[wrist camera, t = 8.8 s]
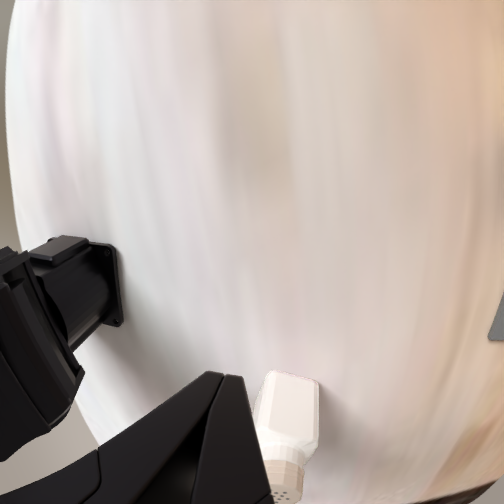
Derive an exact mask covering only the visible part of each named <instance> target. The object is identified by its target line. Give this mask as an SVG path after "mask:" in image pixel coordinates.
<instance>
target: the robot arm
mask: <svg viewBox="0 0 504 504" xmlns="http://www.w3.org/2000/svg"><path fill="white" fill-rule="evenodd" d="M107 250H109V252H110V254H108V252H107ZM116 319H117V320H118V321H116ZM101 324H106V325H110V326H114V327H120V326H121V325H122V324H123V313H122V306H121V298H120V290H119V281H118V272H117V262H116V251H115V248H114V247H113V246H112V245H111V244H105V243H96V242H89V240H88V239H87V238H82V237H73V236H65V235H62V236H60V237H58V238H56V237H52V238H50V239H49V240H48V241H47V243H45V244H43V245H41V246H39V247H37V248H35V249H33V250H31V251H29V252H28V251H27V250H26V251H23V252H21V253H19V254H18V252H17V251H16V252H14V251H13V250H12V249H10V248H9V247H8V246H7V247H4V248H2V249H0V462H3V461H5V460H7V459H8V458H9V457H10V456H11V455H12V454H14V453H15V452H16V451H17V450H18V449H20V448H21V447H22V446H23V445H25V444H26V443H28V442H30V441H31V440H33V439H35V438H36V437H39V436H41V435H44V434H46V433H49V432H50V431H51V429H53V428H54V427H55V426H57V425H58V424H59V423H60V422H61V421H62V420H63V419H64V418H65V417H66V416H67V414H68V412H69V410H70V408H71V405H72V403H73V400H74V398H75V396H76V393H77V391H78V388H79V386H80V384H81V381H82V379H83V377H84V375H85V371H84V369H83V368H82V366H81V365H79V363H78V361H77V360H76V358H75V356H74V354H73V352H74V351H75V350H76V349H77V348H78V347H79V346H80V345H81V344H82V343H83V342H84V341H85V340H86V339H87V338H88V337H89V336H90V335H91V334H92V333H93V332H94V331H95V330H96V329H97V328H98V327H99V326H100V325H101ZM271 493H272V491H271V487H270V484H269V480H268V476H267V472H266V468H265V465H264V461H263V457H262V453H261V449H260V445H259V441H258V437H257V433H256V429H255V425H254V421H253V417H252V412H251V408H250V404H249V400H248V396H247V392H246V387H245V383H244V379H243V377H242V376H237V375H230V374H226V375H225V376H224V374H223V373H219V372H213V371H206V372H205V373H203V374H202V375H201V376H199V377H198V378H197V379H195V380H194V381H193V382H191V383H190V384H188V385H187V386H186V387H184V388H183V389H182V390H180V391H179V392H178V393H176V394H175V395H173V396H172V397H171V398H169V399H168V400H167V401H165V402H164V403H162V404H161V405H160V406H158V407H157V408H155V409H154V410H153V411H151V412H150V413H148V414H147V415H145V416H144V417H143V418H141V419H140V420H138V421H137V422H135V423H134V424H132V425H131V426H129V427H128V428H127V429H125V430H124V431H122V432H121V433H119V434H118V435H116V436H115V437H113V438H112V439H110V440H109V441H107V442H106V443H104V444H103V445H101V446H100V447H98V450H96V449H95V450H94V451H92V452H90V453H88V454H87V455H85V456H84V457H82V458H81V459H79V460H77V461H75V462H74V463H72V464H70V465H68V466H67V467H65V468H63V469H61V470H59V471H57V472H55V473H53V474H51V475H49V476H47V477H45V478H42V479H40V480H38V481H35V482H33V483H31V484H28V485H26V486H23V487H21V488H19V489H16V490H13V491H11V492H8V493H6V494H3V495H0V504H275V502H274V498H273V495H272V494H271Z"/></svg>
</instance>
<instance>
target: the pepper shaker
mask: <svg viewBox="0 0 504 504" xmlns="http://www.w3.org/2000/svg"><path fill="white" fill-rule="evenodd" d="M252 417H253V421H254V425H255V429H256V433H257V437H258V441H259V445H260V449H261V453H262V457H263V461H264V465H265V468H266V472H267V476H268V480H269V484H270V487H271V491H272V493H271V494H272V495H273V498H274V502H275V504H295V503H297V502H298V501H300V500H301V497H302V492H303V478H304V469H303V466H304V465H305V464H306V463H307V462H308V461H309V459H310V458H311V456H312V455H313V454H314V452H315V450H316V448H317V447H318V437H319V385H318V383H317V382H316V381H314V380H312V379H308V378H304V377H300V376H296V375H293V374H289V373H285V372H282V371H278V370H271V371H270V372H269V373H268V374H267V375H266V378H265V380H264V382H263V385H262V387H261V389H260V392H259V394H258V396H257V399H256V402H255V406H254V411H253V415H252Z"/></svg>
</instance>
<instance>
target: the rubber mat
mask: <svg viewBox="0 0 504 504" xmlns="http://www.w3.org/2000/svg"><path fill="white" fill-rule="evenodd" d="M488 338H489V339H490V340H504V293H503V297H502V299H501V302H500V305H499V308H498V311H497V314H496V316H495V319H494V322H493V324H492V327H491V329H490V332H489V334H488Z"/></svg>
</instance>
